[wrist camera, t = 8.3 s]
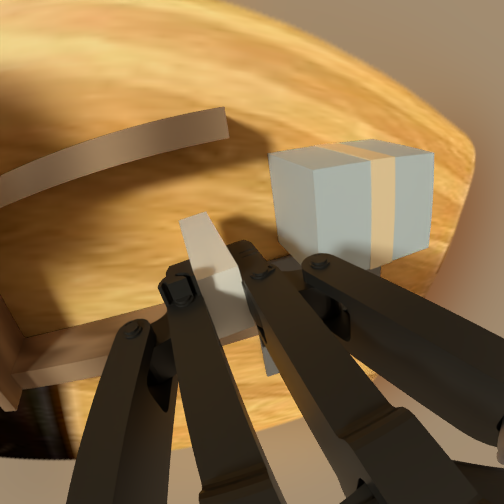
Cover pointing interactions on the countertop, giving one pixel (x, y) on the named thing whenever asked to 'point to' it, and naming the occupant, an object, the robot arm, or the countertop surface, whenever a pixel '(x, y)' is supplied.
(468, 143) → the countertop surface
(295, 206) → the block
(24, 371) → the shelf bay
